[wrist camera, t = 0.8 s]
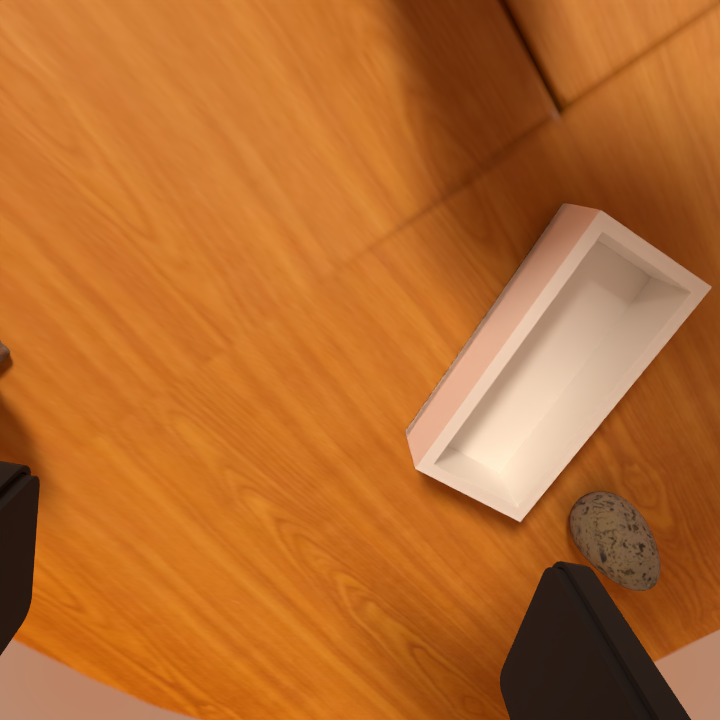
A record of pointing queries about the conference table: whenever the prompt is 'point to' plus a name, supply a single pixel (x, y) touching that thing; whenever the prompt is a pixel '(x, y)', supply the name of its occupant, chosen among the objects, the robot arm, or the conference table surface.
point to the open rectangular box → (551, 359)
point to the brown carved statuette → (3, 352)
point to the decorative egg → (615, 540)
